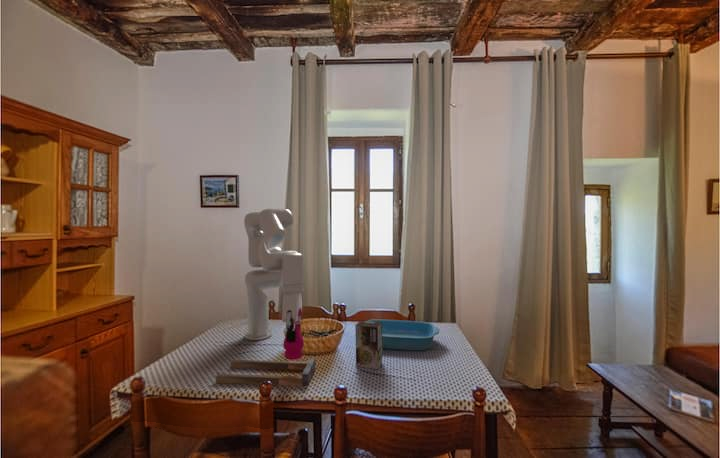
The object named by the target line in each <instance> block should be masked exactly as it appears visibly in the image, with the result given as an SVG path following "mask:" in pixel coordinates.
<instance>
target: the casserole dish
mask: <svg viewBox="0 0 720 458" xmlns="http://www.w3.org/2000/svg"><path fill="white" fill-rule="evenodd" d="M367 321H374V322H382V349H390V350H405V351H427V350H428V349H429V348H430V347H431V345H432V344H433V342H434V337H435V336H436V335H438V334H439V333H440V328H438V327H437V326H436V325H434V324H433V323H431V322H426V321H417V320H416V321H414V320H398V319H385V318H384V319H381V318H380V319H375V318H374V319H369V320H367Z"/></svg>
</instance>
